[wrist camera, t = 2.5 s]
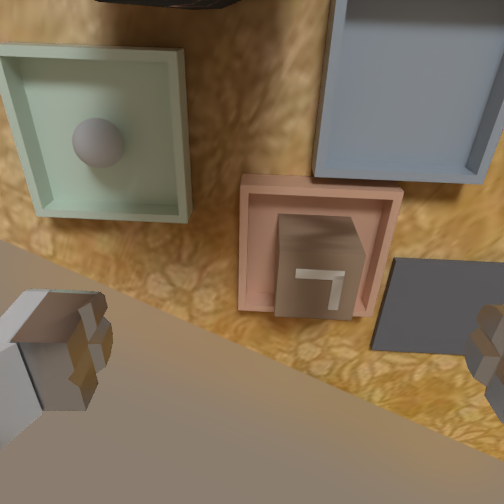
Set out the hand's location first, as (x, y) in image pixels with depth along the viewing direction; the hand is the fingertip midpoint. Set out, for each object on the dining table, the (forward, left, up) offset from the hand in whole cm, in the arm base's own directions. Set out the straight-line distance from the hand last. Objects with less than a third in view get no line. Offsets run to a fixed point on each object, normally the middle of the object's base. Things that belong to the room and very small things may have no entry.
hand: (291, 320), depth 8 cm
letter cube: (-3, +10, -20) cm, 22 cm away
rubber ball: (+12, +2, -20) cm, 23 cm away
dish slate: (-8, -2, -21) cm, 22 cm away
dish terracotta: (-3, +10, -21) cm, 23 cm away
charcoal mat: (-15, +16, -21) cm, 30 cm away
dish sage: (+12, +2, -21) cm, 24 cm away
